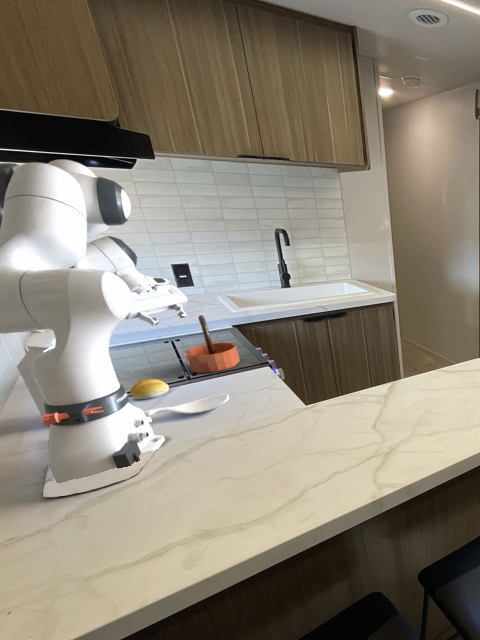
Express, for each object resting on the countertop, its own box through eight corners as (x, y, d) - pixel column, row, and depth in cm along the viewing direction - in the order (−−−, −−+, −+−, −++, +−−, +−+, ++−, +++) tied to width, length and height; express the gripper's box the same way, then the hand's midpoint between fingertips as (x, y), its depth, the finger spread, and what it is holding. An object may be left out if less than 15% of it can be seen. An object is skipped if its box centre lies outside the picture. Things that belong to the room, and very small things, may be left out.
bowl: (240, 368, 134) (235, 351, 132) (188, 377, 127) (182, 359, 125) (240, 356, 145) (236, 340, 143) (192, 363, 138) (187, 346, 136)
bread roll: (137, 403, 110) (132, 390, 108) (130, 394, 115) (124, 381, 114) (174, 393, 116) (169, 380, 114) (165, 385, 121) (160, 373, 120)
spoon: (69, 436, 94) (62, 423, 93) (228, 397, 113) (224, 386, 111) (63, 453, 88) (56, 439, 86) (233, 409, 106) (229, 397, 105)
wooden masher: (224, 365, 135) (210, 316, 128) (204, 368, 132) (189, 318, 126) (225, 360, 139) (211, 312, 133) (206, 363, 137) (191, 314, 130)
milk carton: (66, 425, 99) (31, 352, 92) (44, 422, 100) (8, 350, 93) (98, 411, 106) (67, 343, 98) (77, 409, 107) (45, 341, 100)
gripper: (103, 288, 120) (140, 321, 121) (170, 277, 138) (201, 307, 140) (98, 302, 122) (134, 335, 124) (165, 290, 141) (195, 318, 142)
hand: (170, 320), depth 132 cm, fingers open, 8 cm apart
